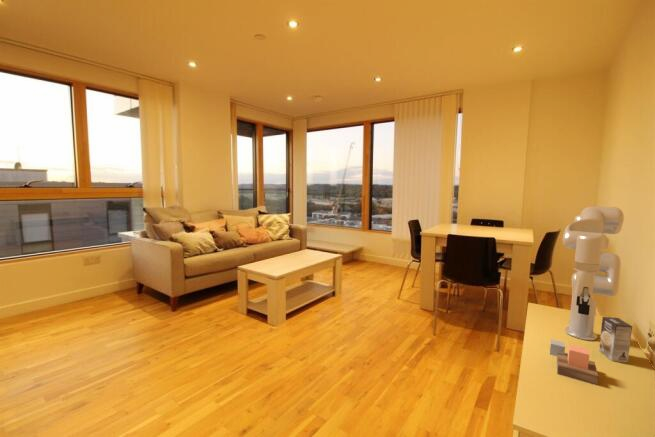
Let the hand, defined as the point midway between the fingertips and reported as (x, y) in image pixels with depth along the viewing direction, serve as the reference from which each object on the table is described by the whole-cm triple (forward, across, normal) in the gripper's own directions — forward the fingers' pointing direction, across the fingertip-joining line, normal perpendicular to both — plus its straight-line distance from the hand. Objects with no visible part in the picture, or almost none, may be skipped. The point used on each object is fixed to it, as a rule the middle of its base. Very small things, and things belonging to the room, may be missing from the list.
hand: (582, 310), depth 124 cm
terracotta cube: (+22, 0, 0) cm, 22 cm away
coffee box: (+26, -24, +14) cm, 38 cm away
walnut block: (+26, 0, 0) cm, 26 cm away
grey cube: (+26, -12, -6) cm, 29 cm away
